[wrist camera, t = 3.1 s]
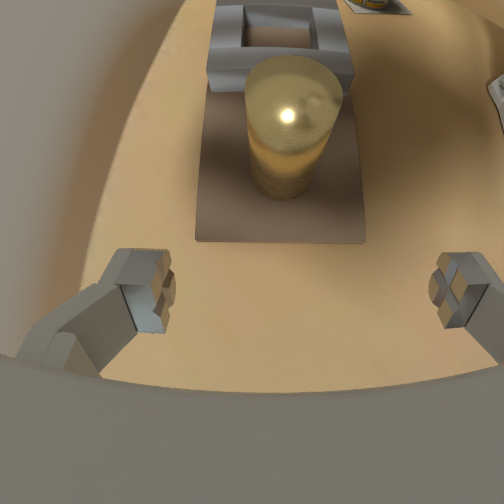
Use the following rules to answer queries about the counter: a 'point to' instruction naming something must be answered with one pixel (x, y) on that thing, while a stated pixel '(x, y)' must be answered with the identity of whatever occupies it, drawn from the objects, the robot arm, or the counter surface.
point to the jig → (236, 131)
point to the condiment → (378, 6)
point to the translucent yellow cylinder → (289, 122)
